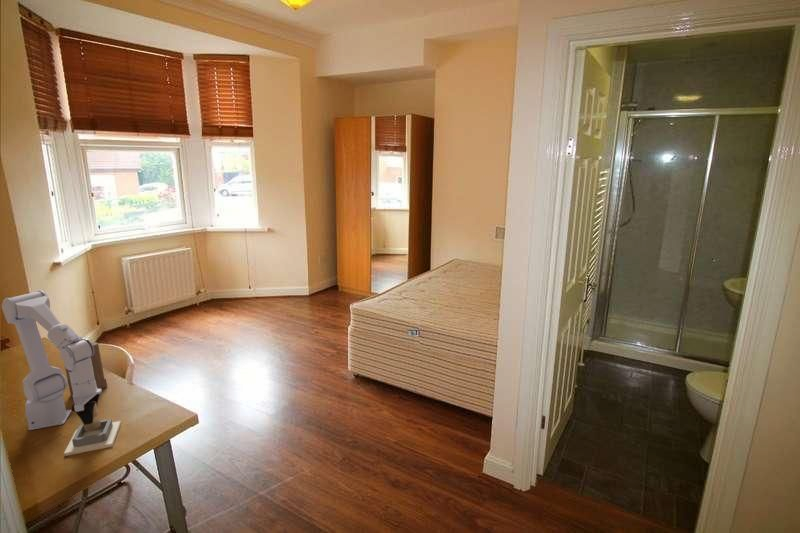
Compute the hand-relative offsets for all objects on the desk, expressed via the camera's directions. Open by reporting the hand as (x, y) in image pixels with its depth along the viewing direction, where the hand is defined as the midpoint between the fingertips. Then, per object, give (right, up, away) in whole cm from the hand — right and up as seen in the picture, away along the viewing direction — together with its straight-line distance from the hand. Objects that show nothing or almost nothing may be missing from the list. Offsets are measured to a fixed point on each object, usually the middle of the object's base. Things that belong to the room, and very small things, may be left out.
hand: (90, 419), depth 129 cm
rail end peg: (0, -3, +1) cm, 3 cm away
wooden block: (-21, 0, +28) cm, 35 cm away
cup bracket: (0, -7, +2) cm, 7 cm away
